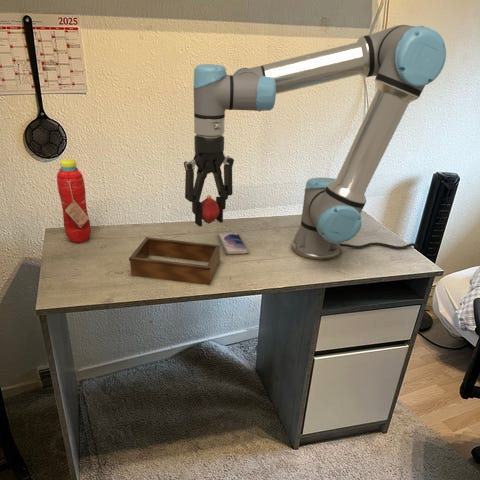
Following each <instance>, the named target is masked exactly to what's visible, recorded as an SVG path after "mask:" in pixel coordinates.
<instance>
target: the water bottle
mask: <svg viewBox="0 0 480 480" xmlns="http://www.w3.org/2000/svg"><path fill="white" fill-rule="evenodd" d="M59 166H60V168H59V169H58V172H57V174H56V183H57V184H56V185H57V190H58V195H59V198H60V203H61V208H62V217H63V228H64V233H65V235H66V237H67V238H68V240H69V242H72V243H76V244H77V243H78V244H80V243H85V242H87V241H89V239H90V236H91V233H92V231H91V223H90V217H89V213H88V209H87V199H86V198H87V197H86V186H85V185H86V184H85V180H84V177H83V176H84V175H83V174H82V172H81V171H80V170H79V169H78V167H77V166H78V164H77V162H76V160H75V159H70V158H65V159H61V160H60V161H59Z"/></svg>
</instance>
